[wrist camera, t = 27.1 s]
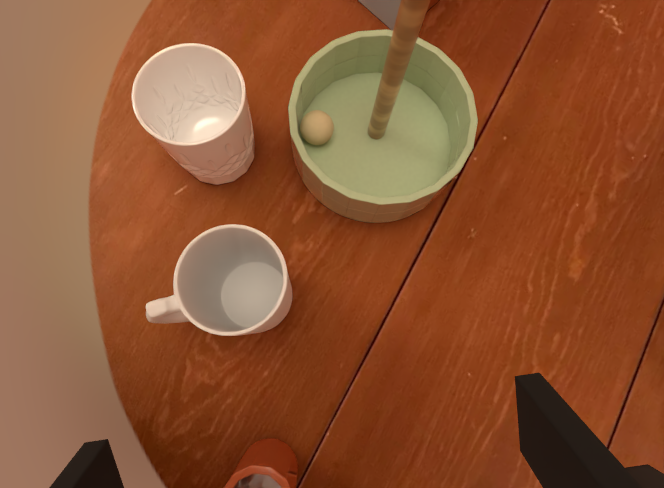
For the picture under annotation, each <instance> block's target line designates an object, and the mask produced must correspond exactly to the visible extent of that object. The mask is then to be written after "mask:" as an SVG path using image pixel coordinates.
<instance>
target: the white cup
mask: <svg viewBox="0 0 664 488" xmlns="http://www.w3.org/2000/svg"><path fill="white" fill-rule="evenodd" d="M132 105H133V109H134V112H135V115H136V117H137V119H138V121H139V122H140V124H141V125H142V126H143V127H144V129H145V130H146V131H147V132H148V133H149V134H150V135H151V136H152V137H153V138H154V139H155V140H156V141H157V142H158V143H159V144H160V145H161V146H162V147H163V148H164V149H165V150H166V152H167V153H168V154H169V155H170V156H171V157H172V158H173V159H175V160H176V161H177V162H178V163H179V164H180V165H181V166H182V167H183V168H185V169H186V170H187V171H188V172H189V173H190V174H192V175H193V176H194V177H195V178H197V179H198V180H199V181H201V182H206V183H210V184H215V185H219V184H224V183H228V182H233V181H235V180H236V179H237V178H239V177H240V176H241V175H243V174H244V173H246V172H247V170H248V168H249V166H250V165H251V163H252V161H253V159H254V150H255V141H254V134H253V126H252V120H251V113H250V108H249V104H248V99H247V94H246V89H245V83H244V79H243V76H242V74H241V72H240V70H239V68H238V67H237V65H236V64H235V63H234V62H233V60H232V59H231V58H229V57H228V56H227V55H226V54H224V53H223V52H221V51H220V50H218V49H216V48H213V47H210V46H207V45H203V44H196V43H186V44H179V45H174V46H171V47H168V48H166V49H163V50H161V51H160V52H158V53H156V54H155V55H153V56H152V57H151V58H150V59H149V60H148V61H147V62H146V63H145V64H144V65H143V66H142V67H141V69H140V70H139V72H138V74H137V76H136V78H135V80H134V84H133V88H132Z"/></svg>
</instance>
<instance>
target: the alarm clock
mask: <svg viewBox="0 0 664 488" xmlns="http://www.w3.org/2000/svg"><path fill="white" fill-rule="evenodd" d="M358 1H359V2H360V3H362V4H363V5H364V6H365V7H366V8H367V9H368V10H370V11H371V12H372V13H373V14H374V15H375V16H376V17H378V18H379V19H380V20H381V21H382V22H383V23H384V24H385V25H387V26H388V27H389V28H390V29H391V30H392V31H393V29H394V25H395V21H396V17H397V14H398V10H399V6H400V2H401V0H358ZM438 1H439V0H430V3H429V6H428V9H427V11H428V10H429V9H430V8H431V7H432V6H433V5H435V4H436V3H437V2H438Z"/></svg>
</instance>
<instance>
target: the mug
mask: <svg viewBox="0 0 664 488" xmlns="http://www.w3.org/2000/svg"><path fill="white" fill-rule="evenodd" d="M173 287H174V295H172V296H169V297H167V298H161V299H157V300H154V301H151V302H148V303H147V304H146V317H147V320H148V321H149V322H152V323H179V322H192V323H193V324H194V325H195V326H197V327H198V328H200V329H202V330H204V331H206V332H209V333H212V334H216V335H222V336H234V335H247V334H254V333H260V332H264V331H267V330H270V329H272V328H274V327H275V326H277V325H278V324H279V323H280V322H281V321H282V320H283V319H284V318H285V316H286V315H287V313H288V311H289V309H290V307H291V303H292V286H291V283H290V279H289V275H288V272H287V267H286V263H285V260H284V257H283V255H282V253H281V251H280V250H279V248H278V247H277V245H276V244H275V243H274V242H273V241H272V240H271V239H270V238H269V237H268V236H266V235H265V234H264V233H262V232H260V231H258V230H256V229H254V228H251V227H248V226H244V225H235V224H231V225H222V226H218V227H214V228H212V229H209V230H207V231H205V232H203V233H202V234H200V235H199V236H197V237H196V238H195V239H193V240H192V241H191V242H190V243H189V244H188V246H187V247H186V248H185V249H184V251H183V252H182V254H181V256H180V258H179V260H178V262H177V265H176V268H175V272H174V280H173Z"/></svg>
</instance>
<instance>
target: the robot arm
mask: <svg viewBox="0 0 664 488" xmlns="http://www.w3.org/2000/svg"><path fill="white" fill-rule="evenodd" d="M515 384H516V398H517V411H518V425H519V439H520V451H521V453H522V454H523V456H524V457H525V459H526V461H527V462H528V464H529V466H530V467H531V469H532V470H533V472H534V474H535V475H536V477H537V479H538V480H539V482H540V483H541V485H542V487H543V488H664V474H663V473H661V472H660V471H658V470H656V469H655V468H653V467H651V466H650V465H648V464H647V465H641V466H634V467H627V468H624V467H623V466H622V464H621V463H620V462H619V461H618V460H617V459H616V458H615V457H614V455H613V454H612V453H611V452H610V451H609V450H608V449H607V448H606V447H605V445H604V444H603V443H602V442H601V441H600V440H599V439H598V438H597V436H596V435H595V434H594V433H593V432H592V431H591V430H590V429H589V428H588V426H587V425H586V424H585V423H584V422H583V421H582V420H581V419H580V418H579V416H578V415H577V414H576V413H575V412H574V411H573V410H572V409H571V407H570V406H569V405H568V404H567V403H566V402H565V401H564V400H563V399H562V397H561V396H560V395H559V394H558V393H557V392H556V391H555V390H554V388H553V387H552V386H551V385H550V384H549V383H548V382H547V381H546V380H545V378H544V377H543V376H542V375H541V374H540V373H534V374H527V375H521V376H515ZM50 488H124V486H123V483H122V480H121V478H120V474H119V471H118V468H117V466H116V463H115V460H114V456H113V453H112V450H111V447H110V445H109V441H108V439H106V440H99V441H93V442H86V443H84V444H83V446H82V447H81V448H80V449H79V451H78V452H77V453H76V455H75V456H74V457H73V458H72V460H71V461H70V462H69V463H68V465H67V466H66V467H65V469H64V470H63V471H62V472H61V474H60V475H59V476H58V478H57V479H56V480H55V481H54V483H53V484H52V485H51V487H50Z"/></svg>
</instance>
